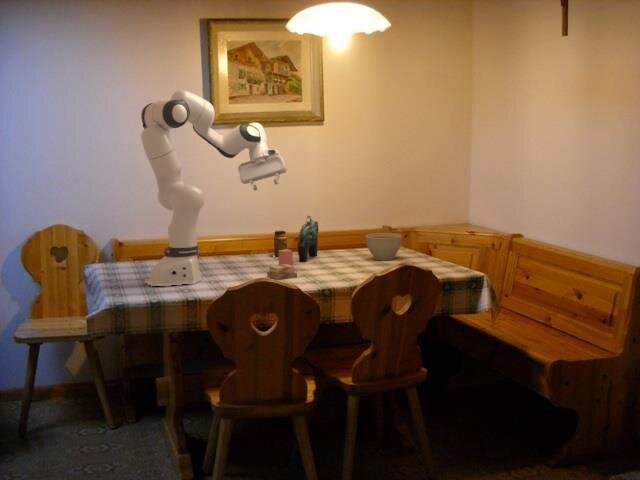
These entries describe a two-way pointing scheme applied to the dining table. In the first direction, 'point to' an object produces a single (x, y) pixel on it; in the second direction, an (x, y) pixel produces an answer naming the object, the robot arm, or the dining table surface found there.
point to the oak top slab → (282, 269)
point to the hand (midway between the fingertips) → (265, 186)
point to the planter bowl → (383, 245)
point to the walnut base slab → (281, 275)
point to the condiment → (279, 243)
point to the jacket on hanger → (308, 240)
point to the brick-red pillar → (286, 257)
